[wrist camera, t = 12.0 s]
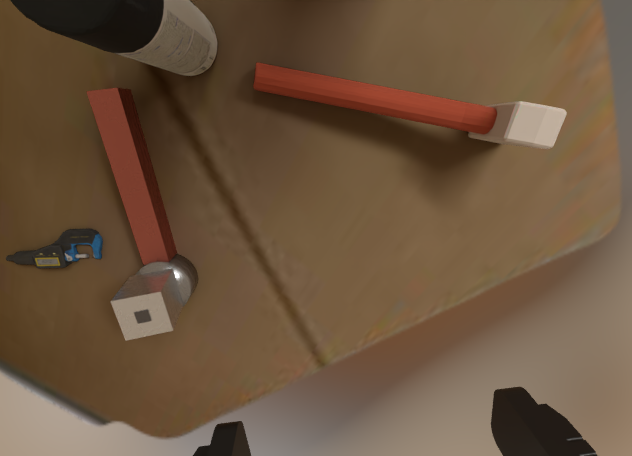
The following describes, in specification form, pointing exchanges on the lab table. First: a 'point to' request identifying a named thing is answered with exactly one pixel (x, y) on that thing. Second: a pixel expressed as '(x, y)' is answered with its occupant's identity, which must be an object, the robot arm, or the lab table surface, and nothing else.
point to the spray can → (133, 29)
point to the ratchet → (139, 186)
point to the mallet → (420, 107)
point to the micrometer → (61, 250)
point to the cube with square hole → (148, 304)
